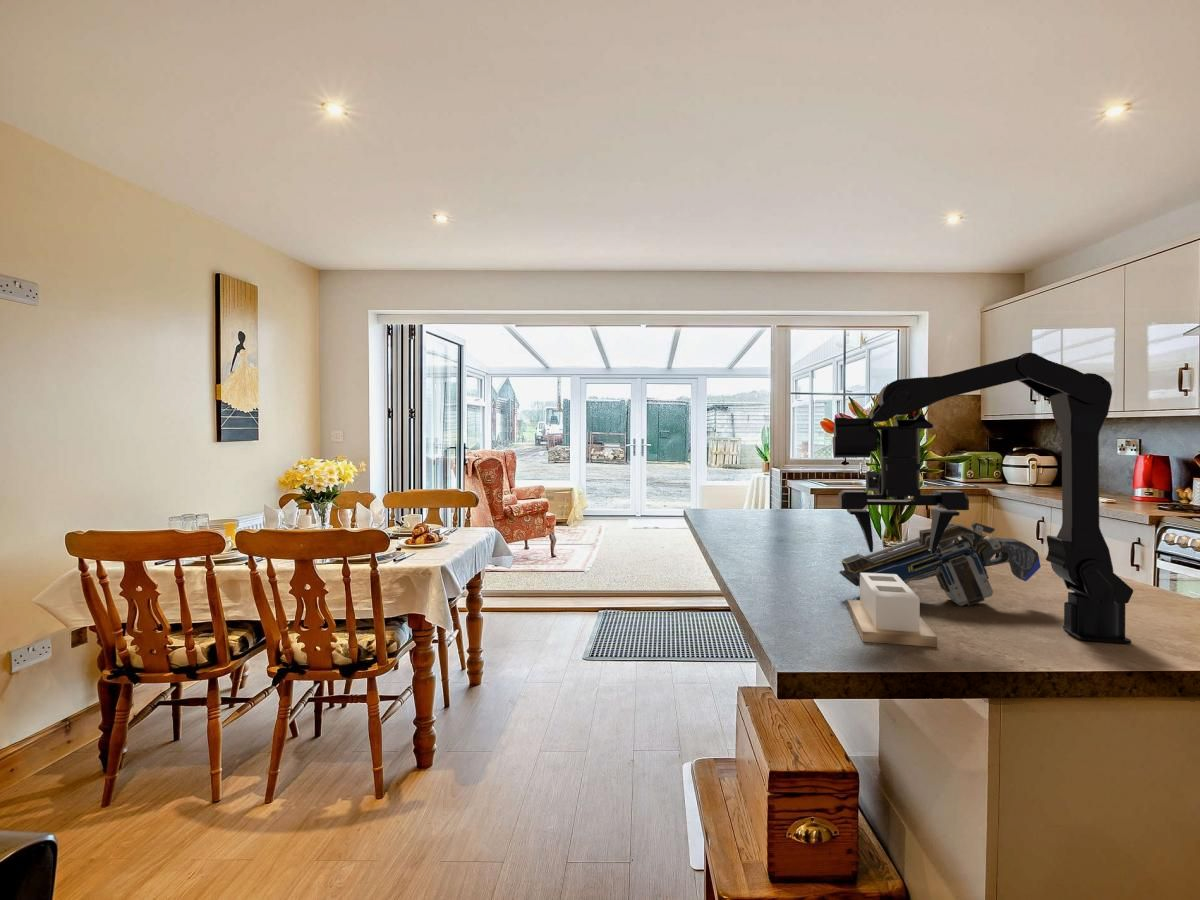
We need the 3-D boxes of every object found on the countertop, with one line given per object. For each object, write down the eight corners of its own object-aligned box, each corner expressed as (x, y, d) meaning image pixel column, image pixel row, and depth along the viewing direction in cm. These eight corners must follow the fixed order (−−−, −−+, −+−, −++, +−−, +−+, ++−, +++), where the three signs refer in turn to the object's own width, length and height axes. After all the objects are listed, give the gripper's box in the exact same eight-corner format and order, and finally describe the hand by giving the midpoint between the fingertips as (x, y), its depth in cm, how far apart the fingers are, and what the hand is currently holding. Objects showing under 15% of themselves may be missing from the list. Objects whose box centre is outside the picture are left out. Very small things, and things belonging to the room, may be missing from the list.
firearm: (1056, 581, 110) (1020, 500, 111) (869, 640, 117) (837, 564, 118) (1035, 571, 118) (1002, 496, 119) (861, 628, 125) (830, 556, 126)
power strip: (859, 600, 113) (859, 572, 113) (896, 602, 111) (896, 574, 111) (875, 629, 96) (875, 596, 96) (919, 632, 94) (919, 598, 94)
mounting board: (908, 611, 111) (908, 582, 111) (936, 646, 92) (936, 611, 92) (847, 607, 114) (847, 579, 114) (862, 641, 95) (862, 607, 94)
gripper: (949, 455, 109) (951, 546, 109) (834, 457, 114) (835, 543, 114) (969, 457, 99) (970, 557, 99) (841, 458, 103) (842, 554, 103)
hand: (901, 552), depth 104 cm, fingers open, 9 cm apart
